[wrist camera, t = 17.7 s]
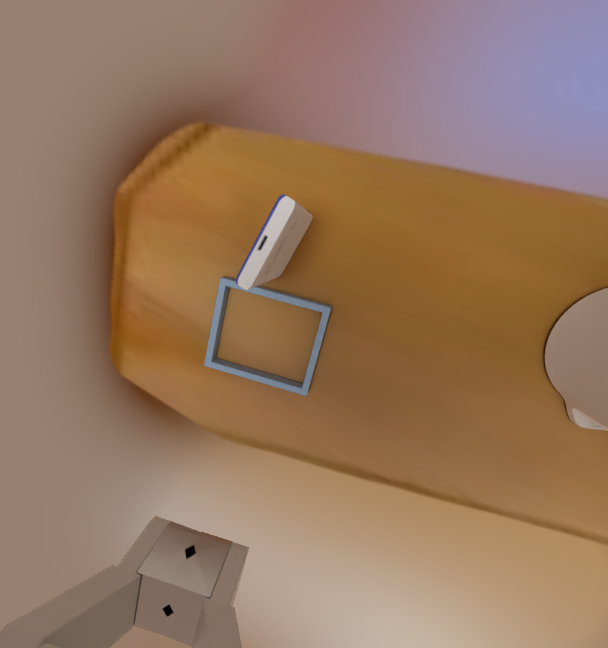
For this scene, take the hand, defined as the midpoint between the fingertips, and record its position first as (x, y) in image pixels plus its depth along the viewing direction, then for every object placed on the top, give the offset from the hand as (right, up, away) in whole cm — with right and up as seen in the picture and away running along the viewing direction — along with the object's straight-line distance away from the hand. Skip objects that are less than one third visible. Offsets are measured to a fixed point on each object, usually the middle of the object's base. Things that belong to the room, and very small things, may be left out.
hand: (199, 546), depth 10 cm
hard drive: (+2, +16, +28) cm, 33 cm away
